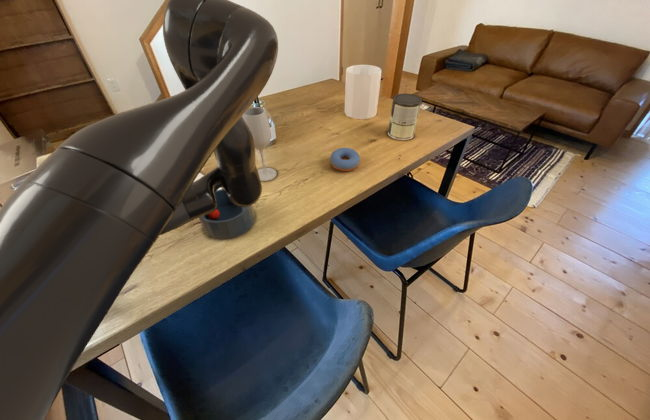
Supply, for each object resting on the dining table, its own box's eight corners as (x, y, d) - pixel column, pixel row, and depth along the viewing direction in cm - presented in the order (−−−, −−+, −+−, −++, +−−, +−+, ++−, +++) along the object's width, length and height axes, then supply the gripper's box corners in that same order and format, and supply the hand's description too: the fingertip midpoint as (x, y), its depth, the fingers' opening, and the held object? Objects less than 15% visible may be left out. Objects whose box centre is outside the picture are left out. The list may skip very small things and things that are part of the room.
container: (377, 119, 119) (383, 75, 107) (344, 119, 120) (346, 75, 108) (374, 106, 130) (379, 64, 118) (344, 106, 130) (345, 64, 118)
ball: (218, 222, 72) (215, 214, 70) (207, 221, 73) (204, 213, 71) (222, 214, 75) (219, 206, 73) (212, 213, 75) (209, 205, 73)
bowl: (244, 242, 68) (239, 225, 64) (194, 236, 70) (186, 219, 66) (261, 206, 78) (257, 190, 74) (217, 202, 79) (211, 186, 75)
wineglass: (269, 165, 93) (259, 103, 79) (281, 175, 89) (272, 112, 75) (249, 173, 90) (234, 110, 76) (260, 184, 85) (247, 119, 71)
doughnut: (350, 177, 88) (351, 164, 85) (324, 167, 92) (324, 155, 89) (364, 162, 94) (365, 150, 91) (339, 154, 98) (339, 142, 95)
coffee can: (382, 131, 111) (387, 95, 102) (404, 126, 114) (411, 91, 104) (396, 142, 104) (403, 105, 95) (419, 137, 107) (428, 101, 97)
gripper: (142, 180, 54) (38, 214, 47) (159, 221, 46) (36, 270, 38) (158, 208, 59) (66, 243, 52) (176, 250, 51) (70, 298, 44)
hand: (54, 254), depth 45 cm, fingers open, 8 cm apart
